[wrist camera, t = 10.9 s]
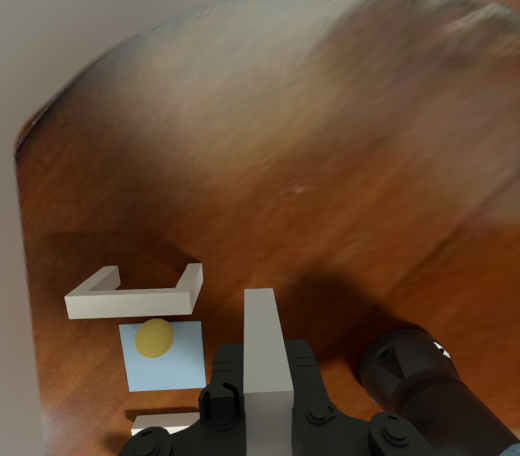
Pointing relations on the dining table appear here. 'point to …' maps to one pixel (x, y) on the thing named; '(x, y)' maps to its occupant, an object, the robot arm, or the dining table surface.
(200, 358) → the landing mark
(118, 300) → the bridge
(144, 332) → the ball
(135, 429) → the stopper
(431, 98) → the dining table surface
